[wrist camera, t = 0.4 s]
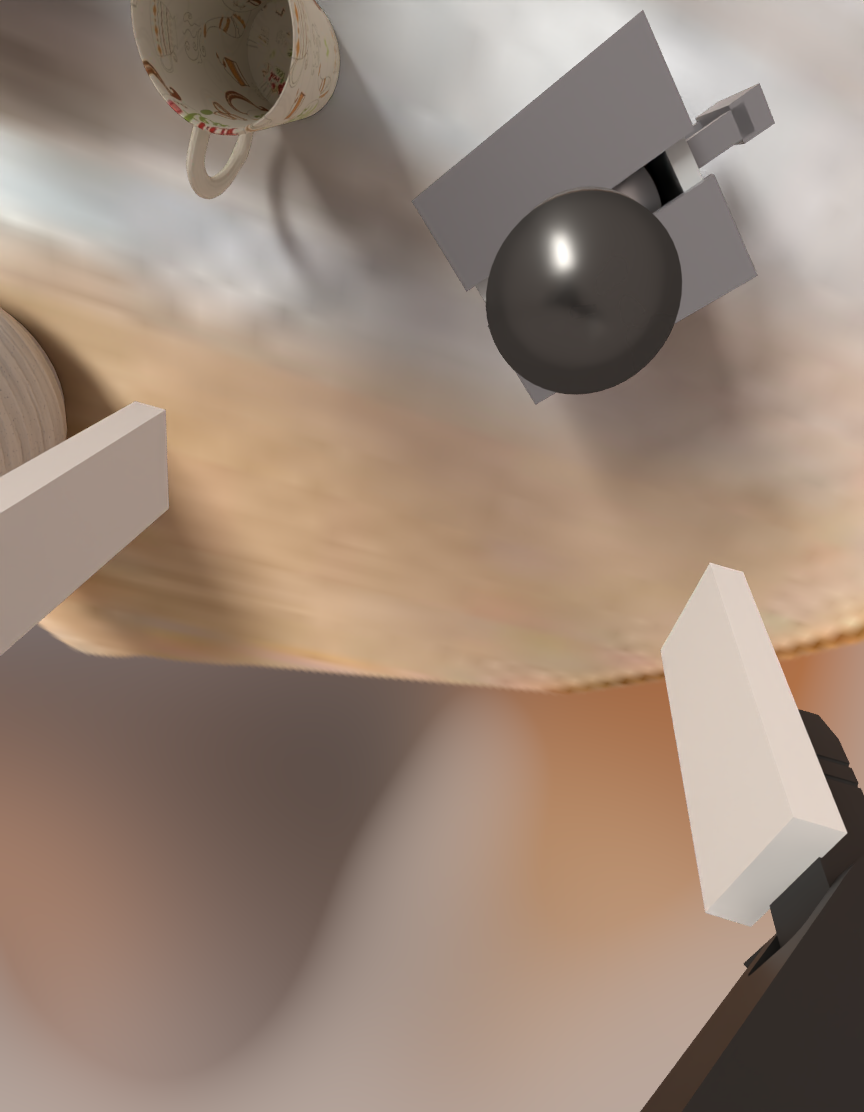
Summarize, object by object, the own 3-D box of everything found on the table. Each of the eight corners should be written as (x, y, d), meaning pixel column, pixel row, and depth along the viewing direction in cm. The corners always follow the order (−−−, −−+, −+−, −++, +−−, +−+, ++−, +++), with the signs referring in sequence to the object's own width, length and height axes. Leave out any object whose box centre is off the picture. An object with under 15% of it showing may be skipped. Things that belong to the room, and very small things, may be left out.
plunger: (478, 210, 29) (380, 256, 15) (615, 104, 26) (656, 35, 12) (552, 340, 31) (528, 483, 17) (686, 255, 28) (790, 346, 14)
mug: (382, 18, 36) (323, -25, 28) (303, 232, 43) (237, 248, 35) (253, -69, 35) (151, -141, 27) (193, 163, 42) (98, 163, 34)
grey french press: (464, 189, 40) (411, 201, 27) (672, 23, 34) (723, -57, 21) (548, 335, 43) (535, 404, 31) (750, 209, 37) (832, 232, 25)
